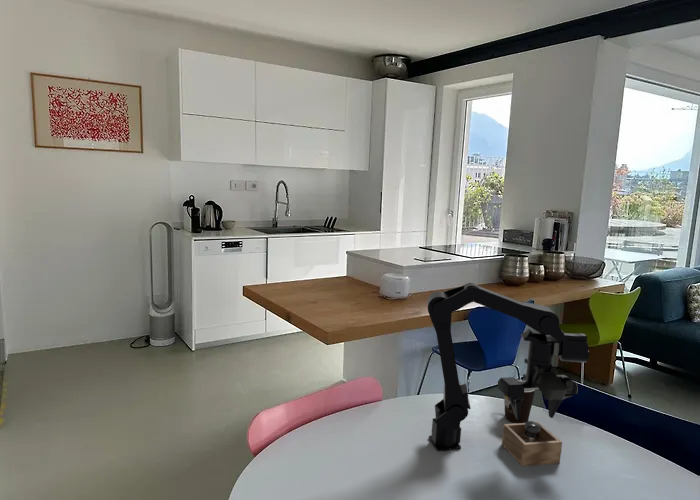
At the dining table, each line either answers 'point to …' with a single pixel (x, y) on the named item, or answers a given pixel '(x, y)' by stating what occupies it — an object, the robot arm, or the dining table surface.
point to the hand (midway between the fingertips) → (534, 418)
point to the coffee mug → (525, 407)
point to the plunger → (532, 431)
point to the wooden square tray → (531, 445)
